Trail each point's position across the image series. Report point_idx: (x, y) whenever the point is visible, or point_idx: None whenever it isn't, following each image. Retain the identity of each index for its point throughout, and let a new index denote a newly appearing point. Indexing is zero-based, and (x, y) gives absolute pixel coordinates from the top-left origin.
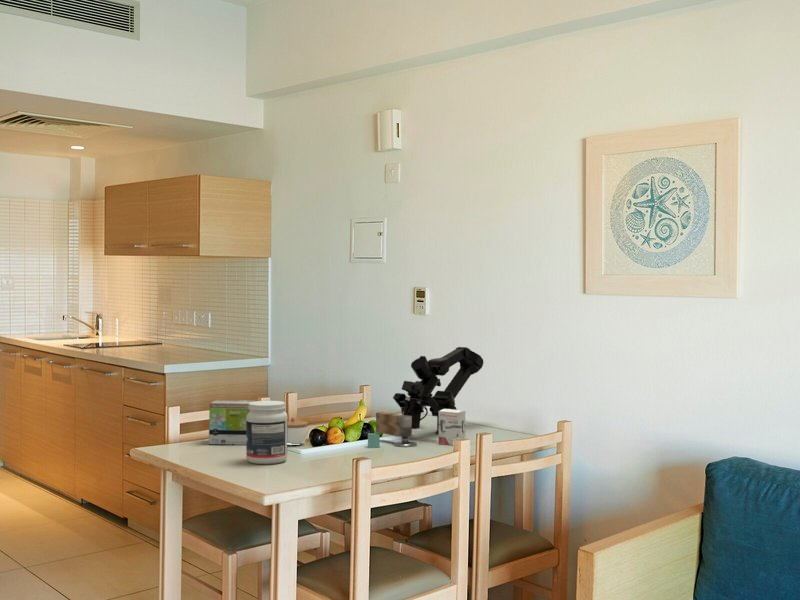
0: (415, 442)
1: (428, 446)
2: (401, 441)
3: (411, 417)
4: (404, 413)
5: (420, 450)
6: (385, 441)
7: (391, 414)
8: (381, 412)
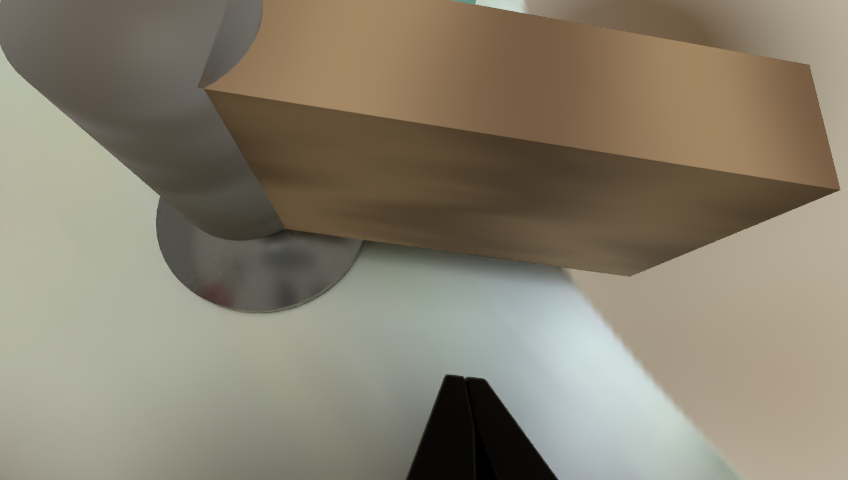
0: (207, 299)
1: (40, 288)
2: (348, 258)
3: (13, 50)
4: (521, 466)
5: (26, 104)
6: None
7: (486, 42)
8: (788, 131)
